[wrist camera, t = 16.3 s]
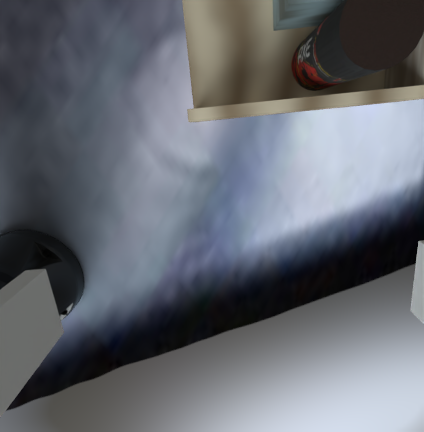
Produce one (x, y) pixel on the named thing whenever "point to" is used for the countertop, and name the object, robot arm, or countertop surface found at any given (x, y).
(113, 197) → the countertop surface
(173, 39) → the countertop surface
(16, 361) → the robot arm
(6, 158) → the countertop surface
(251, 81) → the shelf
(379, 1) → the deodorant
